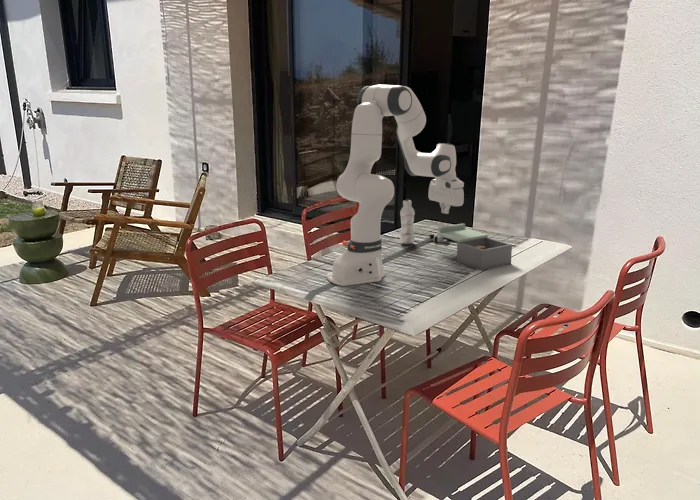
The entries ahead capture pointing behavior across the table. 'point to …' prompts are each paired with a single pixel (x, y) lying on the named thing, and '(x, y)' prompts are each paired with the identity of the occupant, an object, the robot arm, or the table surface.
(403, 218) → the plastic bottle
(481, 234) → the lid
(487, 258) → the housing
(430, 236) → the robot toy
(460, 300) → the table surface
